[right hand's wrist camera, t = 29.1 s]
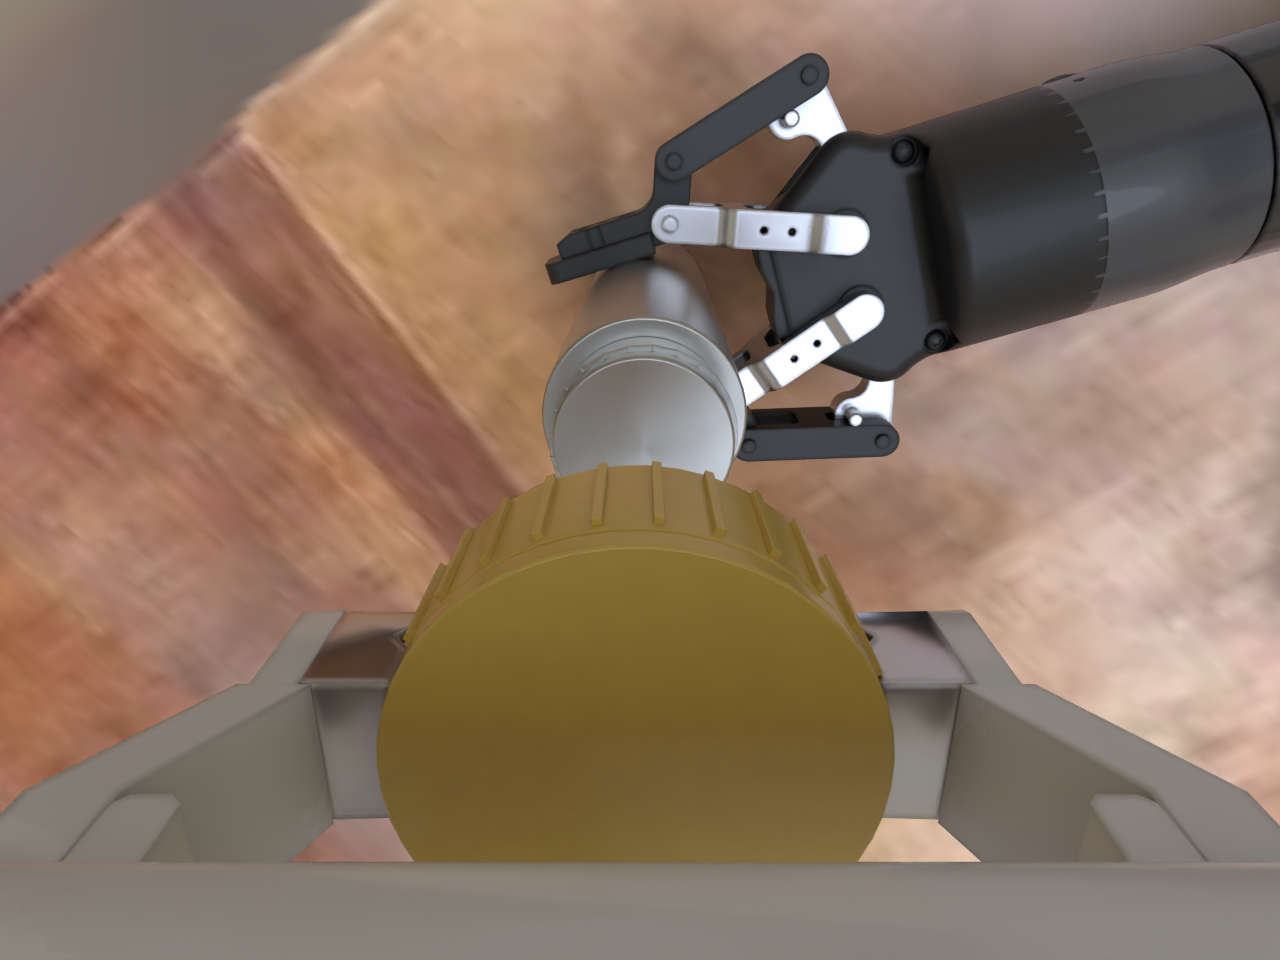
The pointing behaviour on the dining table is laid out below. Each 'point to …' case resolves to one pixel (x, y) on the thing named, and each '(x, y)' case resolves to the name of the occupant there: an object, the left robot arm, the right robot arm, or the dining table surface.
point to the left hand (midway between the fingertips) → (577, 346)
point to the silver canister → (646, 374)
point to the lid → (636, 685)
